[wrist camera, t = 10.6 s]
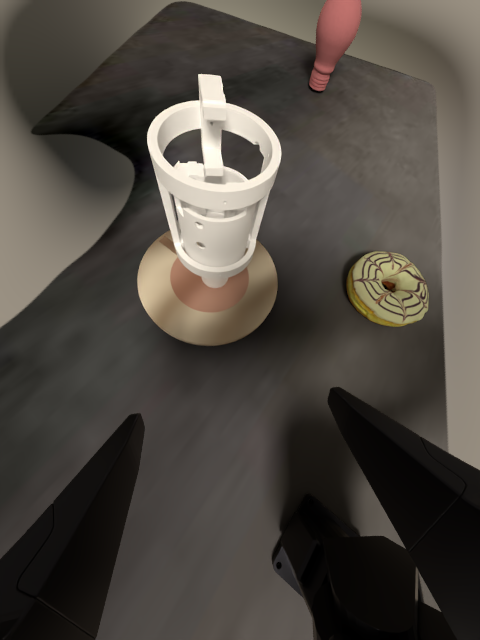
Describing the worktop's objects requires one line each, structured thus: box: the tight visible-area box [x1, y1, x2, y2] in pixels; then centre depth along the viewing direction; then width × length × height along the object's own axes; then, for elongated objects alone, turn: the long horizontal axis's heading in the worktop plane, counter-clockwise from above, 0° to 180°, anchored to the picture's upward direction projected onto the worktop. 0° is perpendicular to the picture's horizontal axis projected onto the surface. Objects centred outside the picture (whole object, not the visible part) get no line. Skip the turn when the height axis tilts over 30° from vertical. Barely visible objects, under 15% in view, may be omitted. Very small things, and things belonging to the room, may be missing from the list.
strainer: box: [147, 74, 281, 288], centre depth 17 cm, size 7×7×15 cm
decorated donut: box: [346, 251, 429, 327], centre depth 28 cm, size 10×11×4 cm
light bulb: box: [309, 0, 362, 91], centre depth 39 cm, size 7×7×12 cm
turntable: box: [137, 231, 278, 346], centre depth 25 cm, size 16×16×1 cm
